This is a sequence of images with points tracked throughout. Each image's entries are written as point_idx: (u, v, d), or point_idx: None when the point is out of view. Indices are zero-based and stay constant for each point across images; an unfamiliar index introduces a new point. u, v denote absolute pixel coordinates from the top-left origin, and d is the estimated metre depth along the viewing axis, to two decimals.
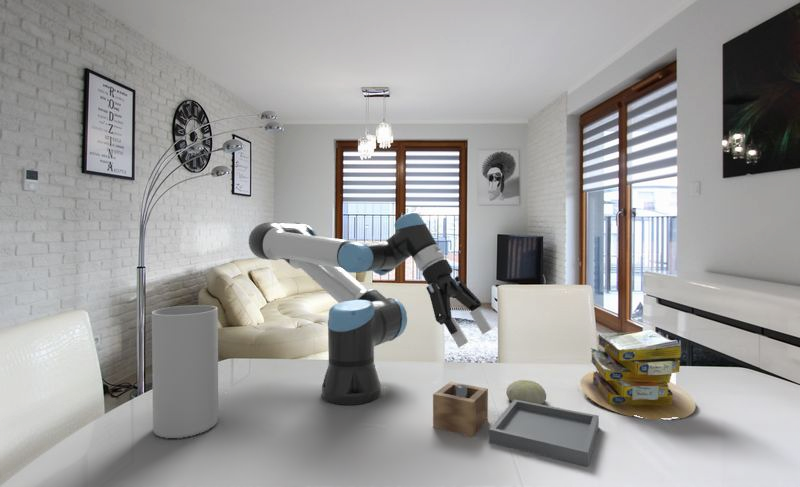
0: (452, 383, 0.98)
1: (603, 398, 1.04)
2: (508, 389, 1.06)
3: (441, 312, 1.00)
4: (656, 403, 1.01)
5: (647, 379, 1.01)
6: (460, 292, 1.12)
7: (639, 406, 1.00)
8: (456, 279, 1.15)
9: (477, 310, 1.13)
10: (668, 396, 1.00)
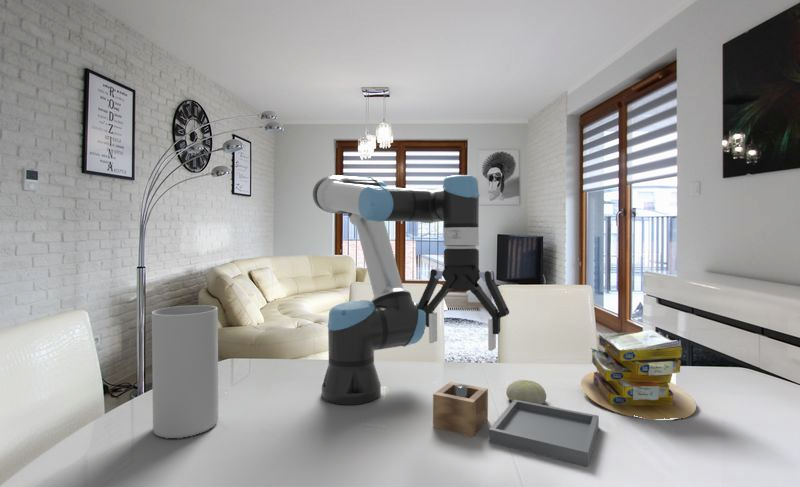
0: (452, 383, 0.98)
1: (604, 398, 1.04)
2: (508, 389, 1.06)
3: (419, 303, 0.97)
4: (657, 403, 1.01)
5: (648, 379, 1.00)
6: None
7: (640, 406, 1.00)
8: None
9: None
10: (669, 396, 1.00)
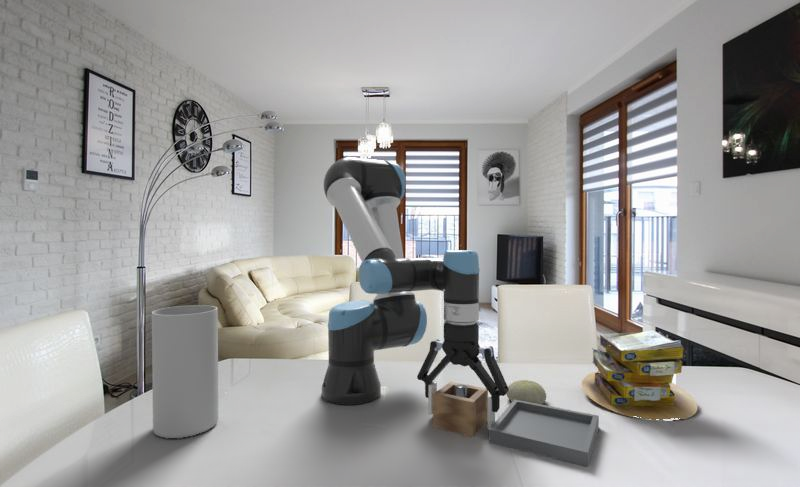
0: (452, 383, 0.98)
1: (605, 399, 1.04)
2: None
3: (418, 373, 0.97)
4: (658, 404, 1.00)
5: (649, 380, 1.00)
6: None
7: (641, 407, 1.00)
8: None
9: None
10: (670, 397, 1.00)
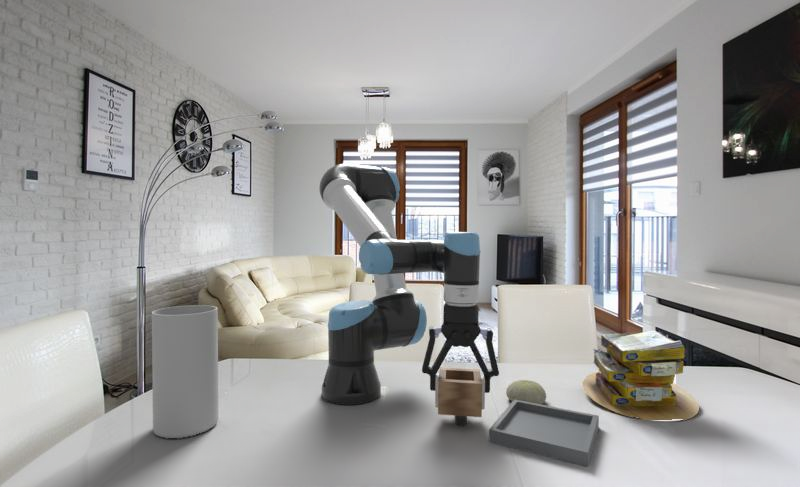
0: (443, 368, 0.97)
1: (606, 399, 1.03)
2: (508, 389, 1.06)
3: (422, 366, 0.93)
4: (660, 404, 1.00)
5: (650, 380, 1.00)
6: (471, 349, 0.92)
7: (642, 407, 0.99)
8: (487, 332, 0.92)
9: None
10: (671, 397, 0.99)
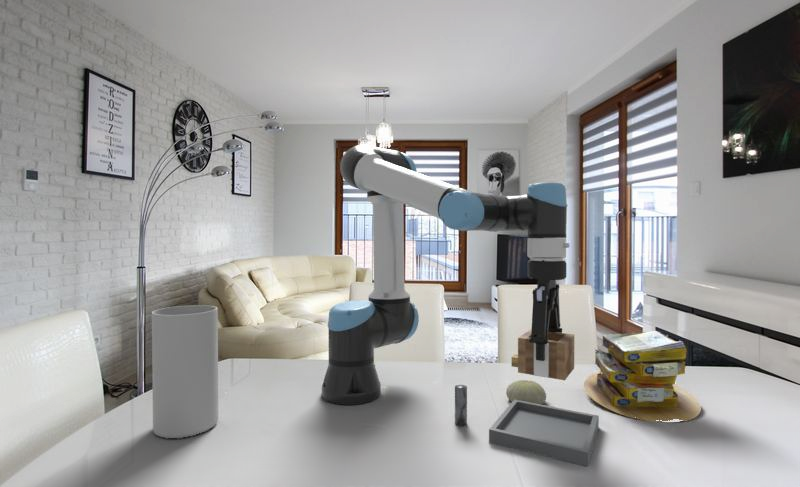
0: (523, 337, 0.86)
1: (607, 400, 1.03)
2: (508, 389, 1.06)
3: (543, 335, 0.80)
4: (662, 405, 1.00)
5: (652, 381, 0.99)
6: (555, 305, 0.89)
7: (644, 408, 0.99)
8: (555, 286, 0.92)
9: None
10: (673, 398, 0.99)
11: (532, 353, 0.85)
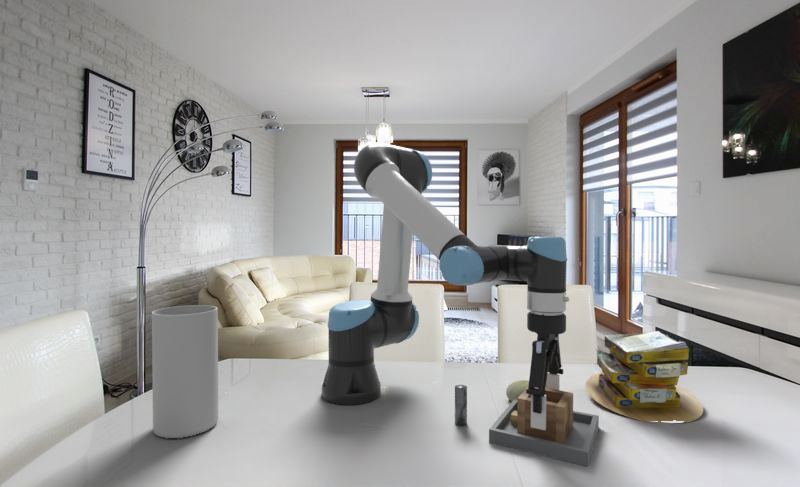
0: (522, 397, 0.87)
1: (609, 401, 1.02)
2: (508, 389, 1.06)
3: (540, 388, 0.79)
4: (664, 406, 0.99)
5: (654, 382, 0.99)
6: (555, 354, 0.90)
7: (646, 409, 0.99)
8: (555, 333, 0.92)
9: (557, 378, 0.93)
10: (676, 399, 0.99)
11: None
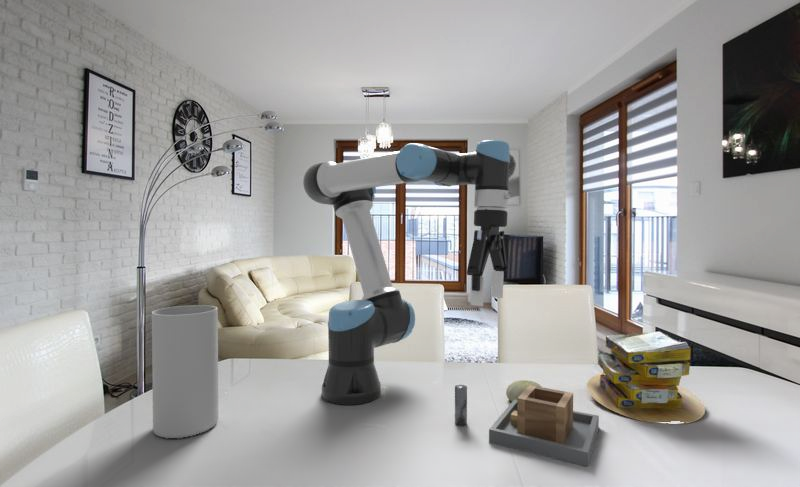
0: (522, 397, 0.87)
1: (611, 401, 1.02)
2: (508, 389, 1.06)
3: (477, 267, 0.90)
4: (666, 407, 0.99)
5: (656, 382, 0.99)
6: (498, 249, 1.01)
7: (648, 410, 0.98)
8: (500, 233, 1.03)
9: (501, 273, 1.04)
10: (677, 399, 0.98)
11: (531, 414, 0.85)
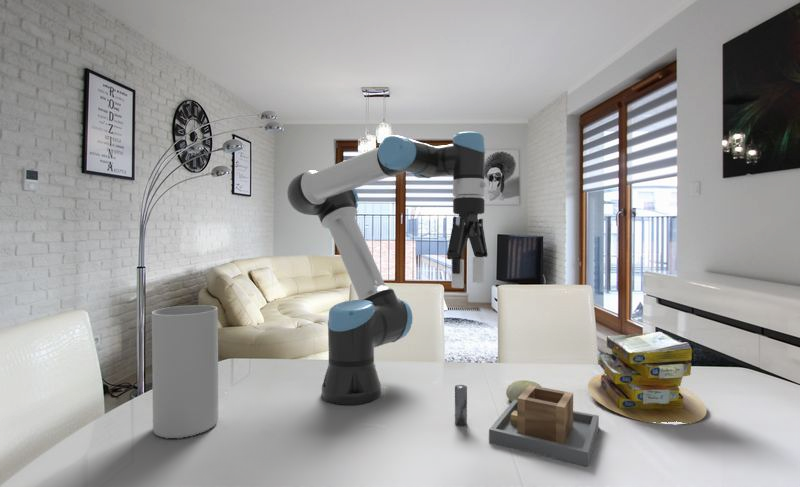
0: (522, 397, 0.87)
1: (612, 402, 1.02)
2: (508, 389, 1.06)
3: (456, 250, 0.95)
4: (667, 407, 0.99)
5: (657, 382, 0.98)
6: (477, 236, 1.06)
7: (649, 410, 0.98)
8: (479, 221, 1.09)
9: (481, 259, 1.09)
10: (679, 400, 0.98)
11: (531, 414, 0.85)
